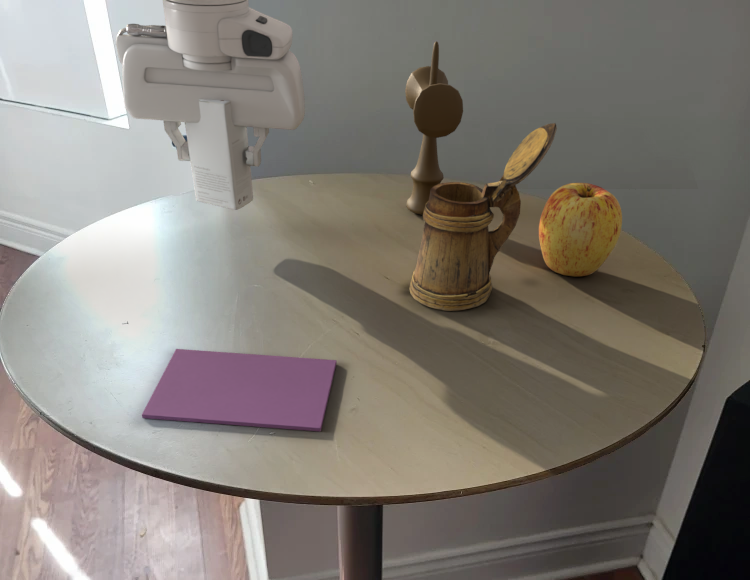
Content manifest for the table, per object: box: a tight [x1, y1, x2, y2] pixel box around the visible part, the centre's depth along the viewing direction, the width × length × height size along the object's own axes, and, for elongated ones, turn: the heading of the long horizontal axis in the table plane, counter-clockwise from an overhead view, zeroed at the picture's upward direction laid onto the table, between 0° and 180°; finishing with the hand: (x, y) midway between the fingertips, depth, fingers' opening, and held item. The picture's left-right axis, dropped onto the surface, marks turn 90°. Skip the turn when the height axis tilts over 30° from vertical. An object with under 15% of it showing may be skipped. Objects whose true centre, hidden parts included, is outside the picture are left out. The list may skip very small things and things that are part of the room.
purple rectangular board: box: [141, 348, 338, 432], centre depth 72 cm, size 16×11×1 cm
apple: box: [538, 182, 623, 277], centre depth 89 cm, size 9×9×10 cm
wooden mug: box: [409, 122, 558, 312], centre depth 81 cm, size 9×14×18 cm, turn 93°
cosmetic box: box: [184, 99, 254, 211], centre depth 91 cm, size 6×4×12 cm
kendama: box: [404, 41, 464, 216], centre depth 97 cm, size 6×10×20 cm, turn 6°
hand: (220, 162), depth 92 cm, fingers closed on cosmetic box, 7 cm apart
